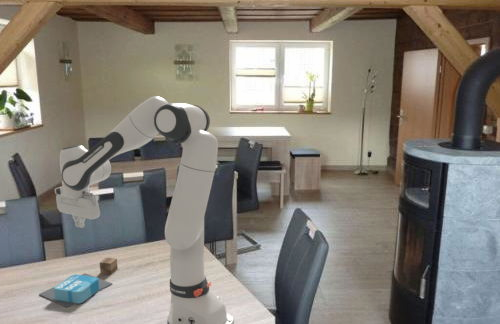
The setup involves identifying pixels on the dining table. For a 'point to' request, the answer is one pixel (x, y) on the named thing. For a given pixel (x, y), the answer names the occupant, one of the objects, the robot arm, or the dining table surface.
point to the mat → (50, 295)
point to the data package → (76, 288)
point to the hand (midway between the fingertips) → (80, 226)
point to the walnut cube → (108, 266)
